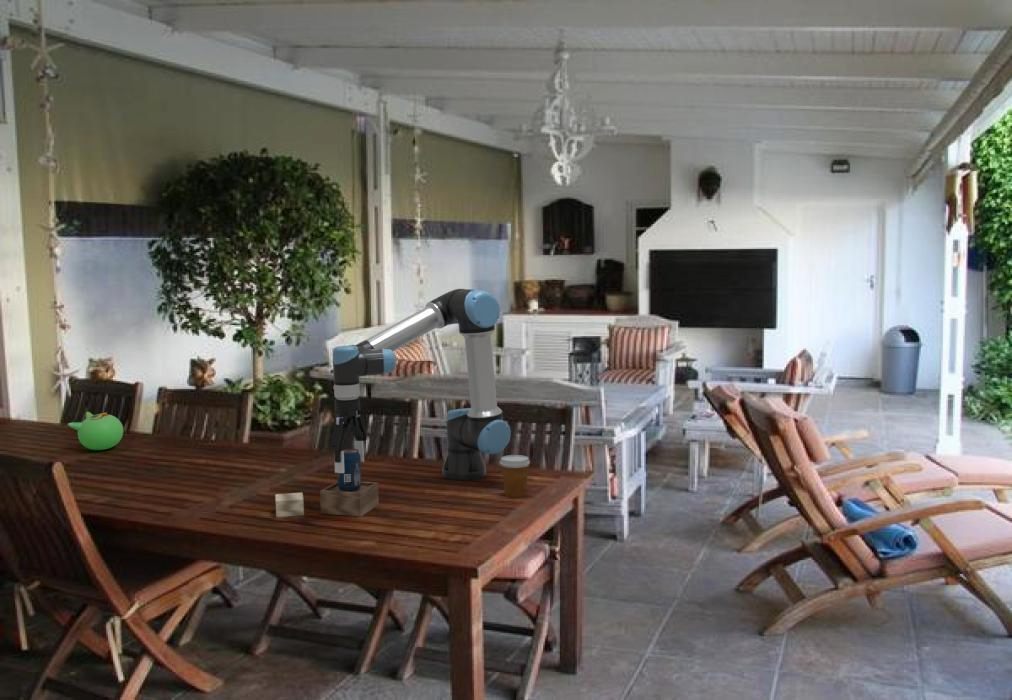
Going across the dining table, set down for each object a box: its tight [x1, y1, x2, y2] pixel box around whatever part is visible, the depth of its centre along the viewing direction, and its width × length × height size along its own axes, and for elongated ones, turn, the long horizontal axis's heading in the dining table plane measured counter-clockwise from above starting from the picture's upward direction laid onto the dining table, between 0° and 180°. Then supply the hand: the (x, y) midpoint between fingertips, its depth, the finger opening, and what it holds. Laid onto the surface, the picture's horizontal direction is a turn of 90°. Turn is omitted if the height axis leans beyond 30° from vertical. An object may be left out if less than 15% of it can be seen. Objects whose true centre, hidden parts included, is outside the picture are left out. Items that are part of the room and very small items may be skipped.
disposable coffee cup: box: [499, 454, 531, 498], centre depth 303 cm, size 10×10×12 cm
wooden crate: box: [319, 480, 380, 518], centre depth 290 cm, size 13×13×7 cm
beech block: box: [274, 492, 305, 518], centre depth 287 cm, size 8×8×5 cm
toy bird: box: [67, 411, 124, 451], centre depth 373 cm, size 18×17×15 cm
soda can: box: [337, 448, 362, 492], centre depth 289 cm, size 7×7×12 cm
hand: (349, 467), depth 289 cm, fingers open, 13 cm apart
